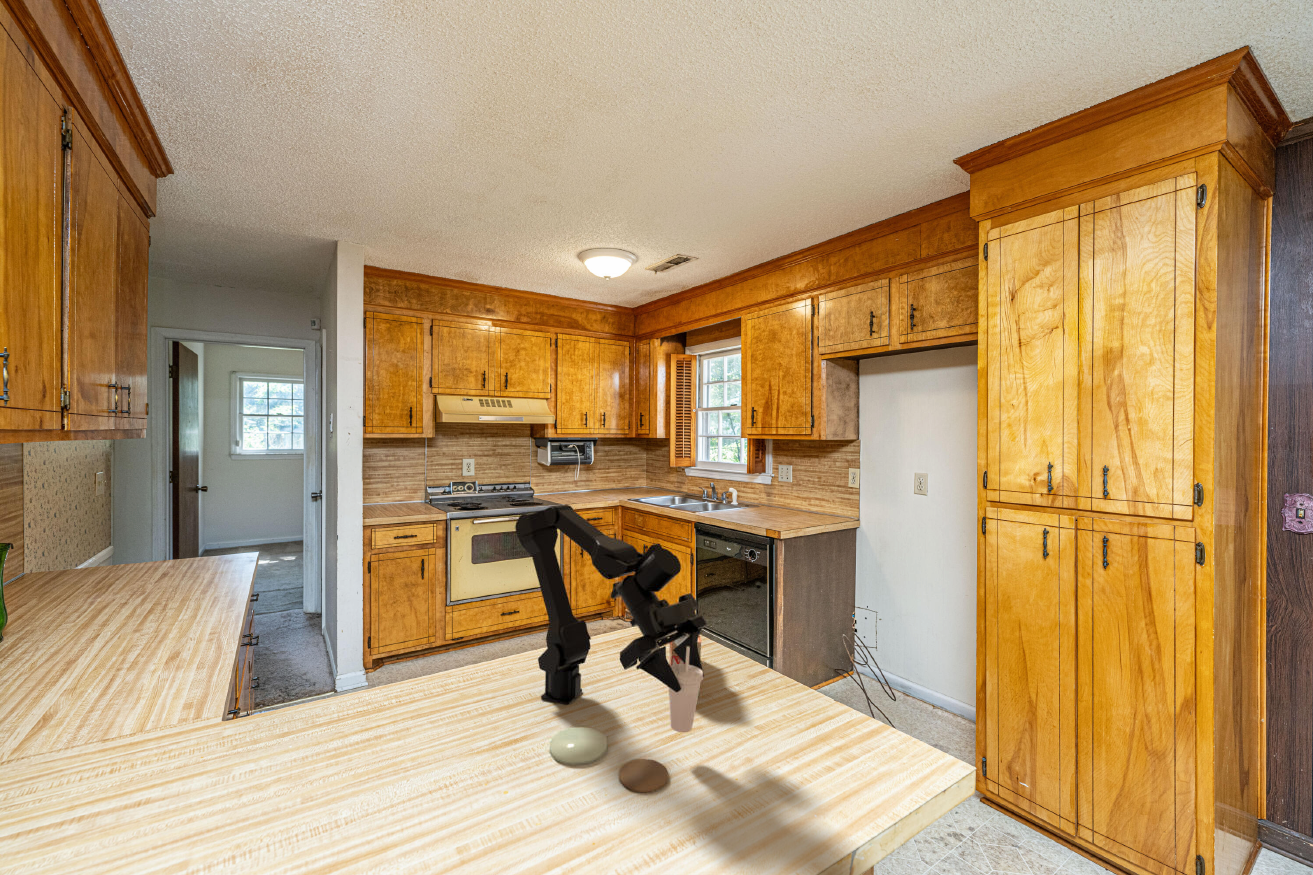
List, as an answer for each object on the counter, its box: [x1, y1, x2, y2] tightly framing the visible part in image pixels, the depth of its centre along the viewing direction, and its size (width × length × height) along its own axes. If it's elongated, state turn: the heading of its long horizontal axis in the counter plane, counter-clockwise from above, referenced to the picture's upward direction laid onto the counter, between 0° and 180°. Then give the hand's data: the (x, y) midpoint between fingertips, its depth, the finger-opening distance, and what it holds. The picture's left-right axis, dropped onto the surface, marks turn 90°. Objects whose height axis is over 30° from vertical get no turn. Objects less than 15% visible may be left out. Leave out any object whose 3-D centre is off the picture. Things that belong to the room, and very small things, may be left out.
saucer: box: [548, 726, 608, 766], centre depth 101 cm, size 10×10×1 cm
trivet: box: [618, 758, 669, 794], centre depth 93 cm, size 8×8×1 cm
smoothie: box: [668, 646, 704, 733], centre depth 100 cm, size 6×6×14 cm
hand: (690, 684), depth 99 cm, fingers closed on smoothie, 6 cm apart
